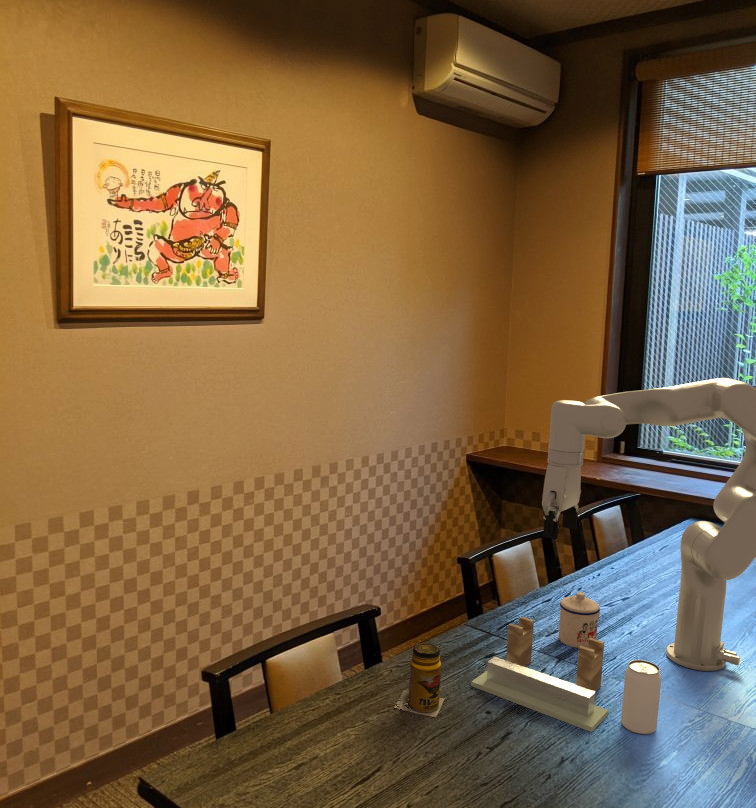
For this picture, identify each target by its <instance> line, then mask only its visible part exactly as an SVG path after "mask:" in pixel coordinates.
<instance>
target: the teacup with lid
mask: <svg viewBox="0 0 756 808" xmlns="http://www.w3.org/2000/svg"><path fill="white" fill-rule="evenodd" d="M559 606H560V612H559V613H560V614H559V622H558V623H559V625H558V639H559V641H560V642H561V643H562V644H564V645H565V646H566V645H567V646H569V647H571V648H576V649H579V647H580V646H584V647H587V648H588V641H589V639H590V638H593V639H596V640H597V635H598V634H597V633H598V622H599V618H600V616H601V615H600V613H601V611H600V610H601V608H600V605H599V604H598V603H597V602H596V601H594V600H593V599H590V598H588V597H586V595H585V593H584V592H581V591H579V592H577V593H576V594H575V595H572V596H567V597H566V596H565V597H564V598H562V599H561V600H560V603H559Z"/></svg>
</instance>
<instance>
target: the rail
mask: <svg viewBox="0 0 756 808" xmlns="http://www.w3.org/2000/svg"><path fill="white" fill-rule="evenodd" d="M486 667H487V669H486V671H487V680H488V681H491V682H494V683H496V684H499V685H502V686H504V687H507V688H510V689H513V690H515V691H518V692H521V693H523V694H526V695H529V696H531V697H534V698H537V699H539V700H542V701H545V702H548V703H550V704H553V705H556V706H558V707H561V708H564V709H566V710H569V711H572V712H575V713H577V714H580V715H583V716H585V717H589V716H590V715H591V714H592V713H593V712H594V705H596V704H595V702H596V691H592V690H589V689H586V688H583V687H580V686H577V685H576V683H572V682H569V681H566V680H563V679H559V678H558V677H554V676H552V675H549V674H546V673H542V672H540V671H537V670H534V669H532V668H528V667H527V666H526V667H523V666H520V665H517V664H514V663H512V662H509V661H506V659H503V658H500V657H497V656H493V657H492V658H491V659H489V660H488V661H487V666H486Z"/></svg>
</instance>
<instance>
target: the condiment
mask: <svg viewBox="0 0 756 808" xmlns="http://www.w3.org/2000/svg"><path fill="white" fill-rule="evenodd" d="M440 654H441V649H440V647H438V645H436V644H434V643H430V642H420V643H417V644H415V645H414V646H413V648H412V654H411V655H412V656H411V659H410V663H409V683H408V687H409V688H408V690H404V689H403V691H402V694H401V695H400V697H399V698H398V700H401V701H396V704H400V705H397V706H400V708H398V707H397V706H396V705H394V707H393V709H394V708H398V709H397V710H399V711H404V712H410V713H413V714H418V715H422V716H426V717H433V718H437V716H438V714H439V712H440V710H441V709H442V706H443V703H444V701H445V699H446V698H445V697H444V698H443V697H440V694H441V691H440V690H441V678H442V677H441V675H442V674H441V673H442V662H441V656H440ZM400 698H401V699H400ZM408 699H409V700H408ZM403 703H408V706H409V707H410V708H411V709H412V710H411V711H408V710H410V709H406V708H405V707H406V706H407V705H406V706H404V707H402V706H403V705H404V704H403ZM408 706H407V707H408ZM400 709H402V710H400Z"/></svg>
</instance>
